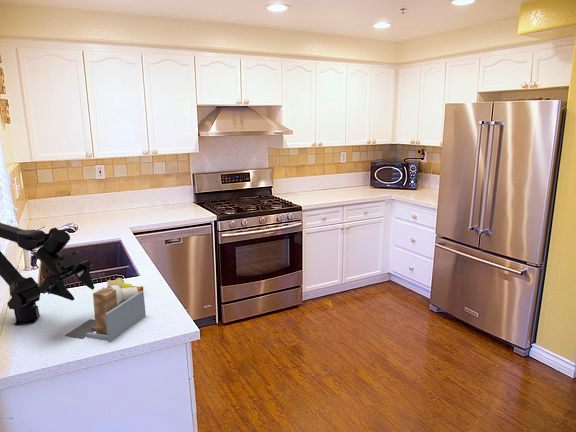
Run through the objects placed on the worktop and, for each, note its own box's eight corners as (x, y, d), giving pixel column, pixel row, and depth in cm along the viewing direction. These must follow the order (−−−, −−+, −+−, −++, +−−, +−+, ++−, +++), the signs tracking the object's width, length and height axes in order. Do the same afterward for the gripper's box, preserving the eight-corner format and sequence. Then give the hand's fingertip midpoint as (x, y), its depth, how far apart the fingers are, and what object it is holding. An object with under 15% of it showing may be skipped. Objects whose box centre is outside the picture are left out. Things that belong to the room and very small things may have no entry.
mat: (64, 336, 139) (64, 335, 139) (90, 320, 150) (90, 319, 150) (82, 339, 137) (82, 338, 137) (107, 322, 148) (107, 321, 148)
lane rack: (85, 338, 138) (81, 310, 135) (122, 313, 155) (120, 288, 153) (110, 342, 135) (107, 314, 133) (145, 316, 153) (143, 291, 150)
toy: (116, 275, 180) (104, 281, 170) (149, 279, 179) (139, 285, 169) (115, 288, 181) (104, 294, 171) (148, 291, 180) (138, 298, 170)
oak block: (86, 332, 141) (82, 291, 137) (96, 325, 145) (93, 285, 142) (108, 337, 138) (105, 295, 135) (118, 329, 143) (115, 289, 139)
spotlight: (102, 300, 164) (105, 281, 162) (129, 297, 172) (133, 279, 171) (110, 310, 159) (114, 291, 157) (138, 306, 167) (142, 288, 165)
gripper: (40, 254, 130) (74, 290, 129) (84, 238, 147) (114, 270, 146) (25, 276, 133) (57, 311, 133) (69, 257, 151) (98, 288, 150)
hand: (83, 294), depth 141 cm, fingers open, 9 cm apart
